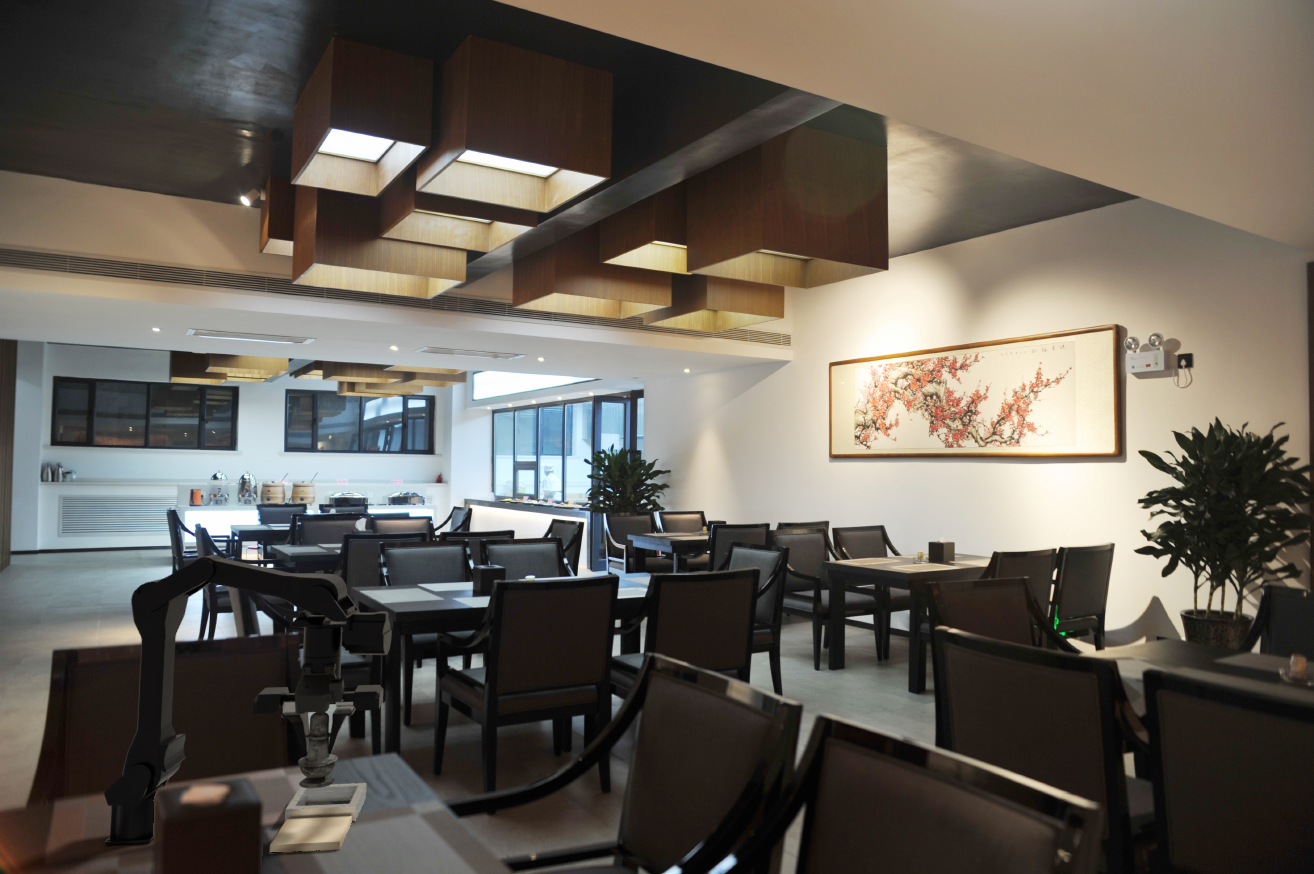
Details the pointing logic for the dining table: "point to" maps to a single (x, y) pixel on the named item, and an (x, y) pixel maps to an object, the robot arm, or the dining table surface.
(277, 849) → the wooden square board
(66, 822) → the dining table surface
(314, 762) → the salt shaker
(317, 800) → the grey square frame
